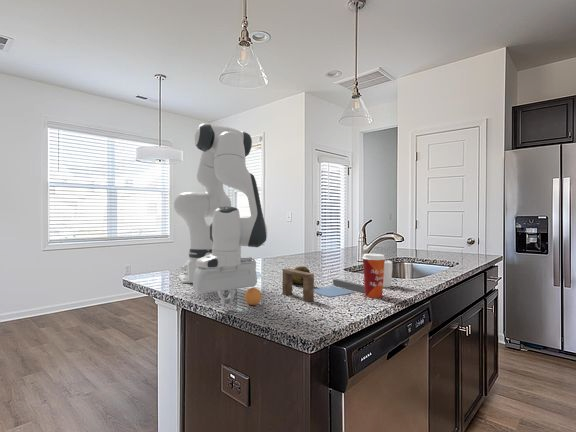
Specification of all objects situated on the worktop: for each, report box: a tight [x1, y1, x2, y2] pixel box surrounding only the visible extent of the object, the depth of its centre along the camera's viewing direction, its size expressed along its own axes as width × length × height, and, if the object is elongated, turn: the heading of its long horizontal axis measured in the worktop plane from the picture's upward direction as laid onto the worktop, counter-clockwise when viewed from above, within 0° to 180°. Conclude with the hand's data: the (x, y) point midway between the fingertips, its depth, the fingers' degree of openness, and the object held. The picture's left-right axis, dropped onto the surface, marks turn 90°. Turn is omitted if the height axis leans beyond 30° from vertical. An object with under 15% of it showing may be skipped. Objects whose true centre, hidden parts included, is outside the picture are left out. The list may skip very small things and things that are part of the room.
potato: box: [292, 266, 311, 285], centre depth 144 cm, size 8×13×8 cm, turn 13°
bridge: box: [282, 268, 315, 303], centre depth 122 cm, size 3×14×9 cm, turn 35°
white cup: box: [383, 260, 394, 288], centre depth 142 cm, size 8×8×10 cm
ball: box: [244, 287, 263, 306], centre depth 111 cm, size 6×6×6 cm
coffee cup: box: [362, 253, 386, 299], centre depth 124 cm, size 8×8×15 cm
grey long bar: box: [332, 278, 365, 294], centre depth 136 cm, size 18×2×2 cm, turn 35°
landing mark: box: [314, 285, 357, 298], centre depth 131 cm, size 13×13×1 cm
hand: (226, 304), depth 106 cm, fingers closed
